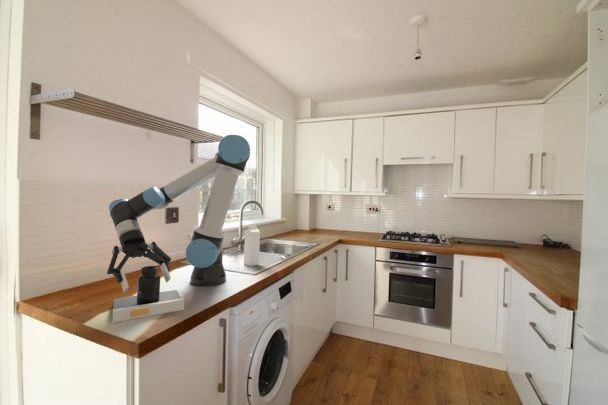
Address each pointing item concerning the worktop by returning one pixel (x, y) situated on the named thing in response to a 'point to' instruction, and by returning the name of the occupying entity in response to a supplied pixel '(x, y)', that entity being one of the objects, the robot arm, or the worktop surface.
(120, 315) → the open storage tray
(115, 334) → the worktop surface
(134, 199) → the robot arm
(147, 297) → the supplement bottle
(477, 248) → the worktop surface
